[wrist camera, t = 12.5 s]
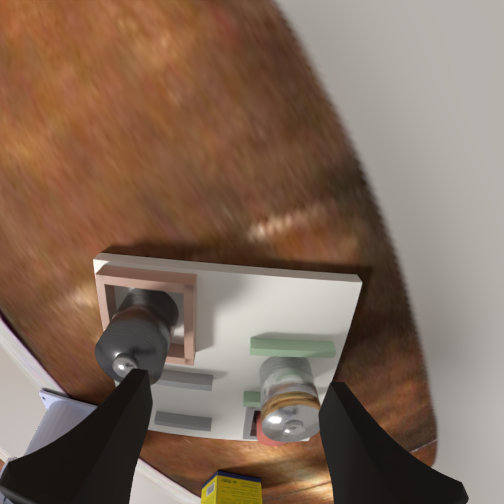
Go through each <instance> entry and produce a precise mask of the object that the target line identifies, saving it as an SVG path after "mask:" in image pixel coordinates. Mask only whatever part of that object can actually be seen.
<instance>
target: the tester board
mask: <svg viewBox="0 0 504 504" xmlns="http://www.w3.org/2000/svg"><path fill="white" fill-rule="evenodd" d="M93 261H94V270H95V279H96V287H97V294H98V301H99V307H100V313H101V319H102V325H103V330H104V331H105V329H106V327H107V326H108V324H109V323H110V321H111V319H112V318H113V316H114V314H115V313H116V311H117V310H118V308H119V307H120V305H121V303H122V302H123V300H124V299H125V297H126V296H127V294H128V293H129V292H130V291H131V290H132V289H134V288H141V289H149V290H158V291H164V292H166V293H167V294H168V295H169V296H170V297H171V298H172V299H173V300H174V302H175V303H176V305H177V308H178V311H179V319H178V322H177V326H176V329H175V332H174V335H173V338H172V341H171V345H170V348H169V351H168V354H167V358H166V361H165V364H164V367H163V371H162V374H161V377H160V379H159V380H158V381H157V382H156V383H155V384H153V385H151V386H150V387H151V393H152V399H153V407H152V412H151V417H150V422H149V426H148V430H153V431H159V432H166V433H172V434H179V435H187V436H196V437H205V438H216V439H229V440H247V441H258V439H257V425H256V413H257V411H258V410H260V411H261V400H260V381H259V369H260V367H261V365H262V364H263V362H264V361H265V360H267V359H268V358H269V357H271V356H277V357H305V358H306V359H307V360H308V361H309V362H310V365H311V369H312V373H313V377H314V381H315V385H316V389H317V394H318V398H319V402H320V405H322V403H323V400H324V397H325V395H326V392H327V389H328V386H329V384H330V383H331V382H332V379H333V376H334V373H335V370H336V368H337V365H338V362H339V359H340V356H341V353H342V350H343V347H344V344H345V341H346V337H347V334H348V331H349V328H350V325H351V321H352V318H353V315H354V311H355V308H356V304H357V301H358V297H359V294H360V290H361V286H362V281H361V280H360V278H359V277H358V275H354V274H340V273H327V272H314V271H301V270H288V269H276V268H263V267H251V266H239V265H228V264H216V263H205V262H193V261H182V260H171V259H161V258H150V257H140V256H129V255H119V254H109V253H99V254H98V255H97V256H96V257H95V258H94V259H93ZM114 381H115V385H116V387H117V386H118V385H119V382H117V381H116V380H114ZM309 438H310V437H309ZM309 438H307V439H304V440H301V441H308V440H309Z"/></svg>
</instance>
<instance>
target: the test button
mask: <svg viewBox="0 0 504 504" xmlns="http://www.w3.org/2000/svg"><path fill="white" fill-rule="evenodd" d="M256 425H257V439H258V441H259V442H260V443H262V444H264V445H268V446H279V445H284V444H286V443H288V442H278V441H274V440H272V439H270V438H268V437H267V436H265V435H264V433H263V431H262V425H261V411H260V410H258V411H257V413H256Z"/></svg>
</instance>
